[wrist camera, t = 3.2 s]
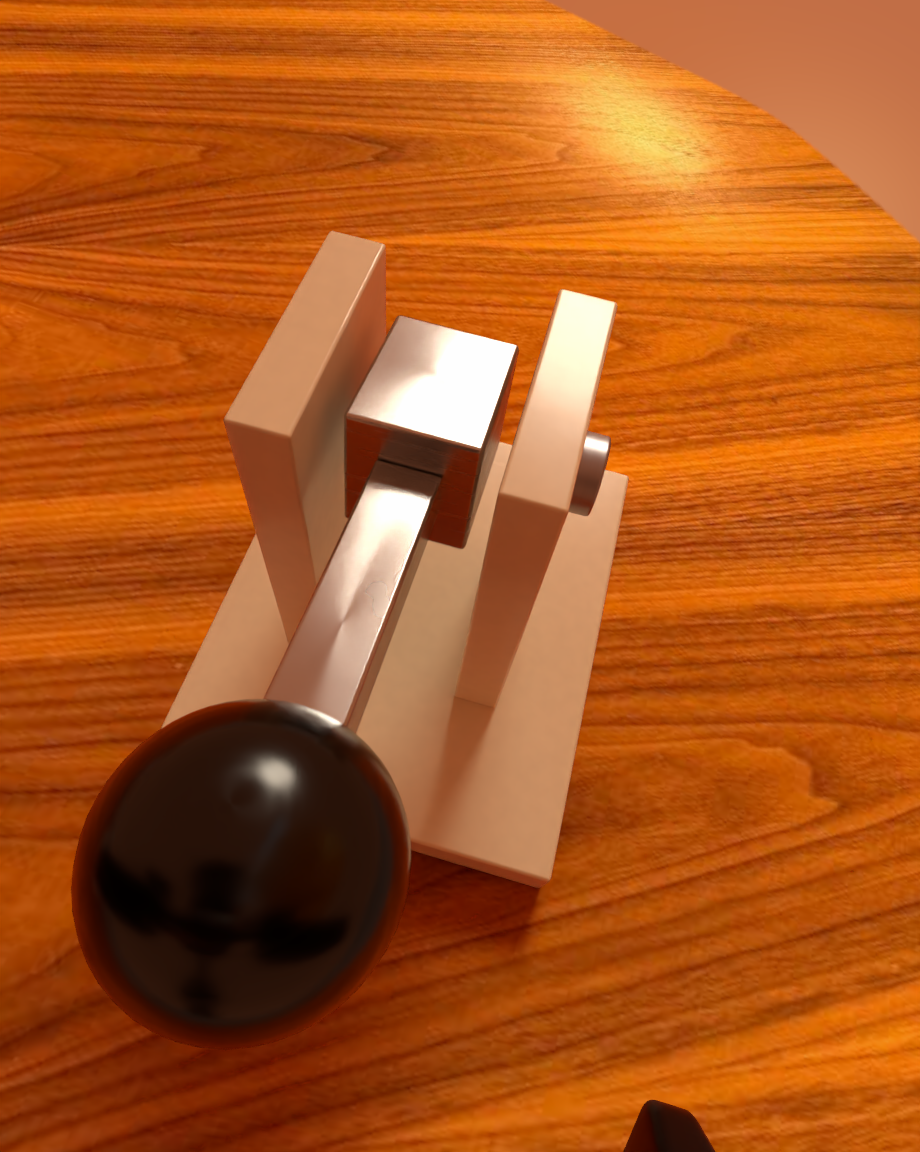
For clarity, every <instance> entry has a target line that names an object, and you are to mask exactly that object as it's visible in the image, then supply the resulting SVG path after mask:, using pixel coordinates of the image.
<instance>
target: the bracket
mask: <svg viewBox="0 0 920 1152" xmlns="http://www.w3.org/2000/svg"><path fill="white" fill-rule="evenodd" d="M616 311H617V303H615V302H612V301H608V300H604V299H600V298H596V297H593V296H589V295H585V294H581V293H577V292H573V291H569V290H565V289H561V290H560V291H559V293H558V296H557V299H556V302H555V306H554V309H553V312H552V316H551V319H550V322H549V326H548V329H547V332H546V336H545V339H544V342H543V346H542V349H541V352H540V356H539V359H538V362H537V366H536V369H535V372H534V375H533V379H532V382H531V385H530V389H529V392H528V395H527V399H526V402H525V405H524V409H523V412H522V415H521V419H520V422H519V425H518V429H517V432H516V435H515V439H514V442H513V445H510V444H506V443H502V442H499V446H498V449H497V452H496V455H495V458H494V461H493V464H492V467H491V470H490V473H489V476H488V479H487V482H486V486H485V489H484V492H483V495H482V498H481V501H480V504H479V507H478V510H477V513H476V516H475V519H474V522H473V525H472V528H471V531H470V534H469V537H468V540H467V543H466V546H465V547H464V548H463V549H457V548H454V547H450V546H446V545H443V544H439V543H435V542H432V541H428V542H427V545H426V547H425V550H424V553H423V555H422V558H421V561H420V564H419V566H418V569H417V572H416V574H415V577H414V580H413V582H412V585H411V588H410V590H409V593H408V596H407V598H406V601H405V604H404V606H403V609H402V612H401V615H400V617H399V620H398V623H397V625H396V628H395V631H394V633H393V636H392V639H391V641H390V644H389V647H388V649H387V652H386V655H385V658H384V660H383V663H382V666H381V668H380V671H379V674H378V676H377V679H376V682H375V684H374V687H373V690H372V692H371V695H370V698H369V700H368V703H367V706H366V709H365V711H364V714H363V717H362V719H361V722H360V725H359V727H358V730H357V733H356V734H357V735H358V736H359V737H360V738H361V739H362V740H363V741H364V742H366V743H367V744H368V745H369V746H370V748H371V749H372V750H373V751H374V752H375V753H376V755H377V756H378V757H379V758H380V759H381V761H382V762H383V764H384V766H385V767H386V769H387V770H388V772H389V773H390V775H391V777H392V779H393V781H394V784H395V786H396V788H397V790H398V792H399V795H400V797H401V799H402V803H403V806H404V809H405V812H406V816H407V820H408V826H409V832H410V841H411V850H412V851H416V852H419V853H422V854H426V855H429V856H432V857H436V858H439V859H442V860H446V861H449V862H452V863H456V864H459V865H462V866H466V867H469V868H472V869H476V870H479V871H482V872H486V873H489V874H492V875H496V876H499V877H502V878H506V879H509V880H512V881H516V882H519V883H522V884H526V885H529V886H532V887H536V888H541V887H542V886H544V885H545V884H547V883H548V882H549V881H550V880H551V876H552V871H553V866H554V861H555V856H556V850H557V845H558V840H559V835H560V830H561V825H562V820H563V814H564V809H565V804H566V799H567V794H568V789H569V784H570V778H571V773H572V768H573V763H574V758H575V753H576V748H577V742H578V737H579V732H580V727H581V722H582V717H583V712H584V706H585V701H586V696H587V691H588V686H589V681H590V676H591V670H592V665H593V660H594V655H595V650H596V645H597V640H598V634H599V629H600V624H601V619H602V614H603V609H604V604H605V598H606V593H607V588H608V583H609V578H610V573H611V568H612V562H613V557H614V552H615V547H616V542H617V537H618V532H619V526H620V521H621V516H622V511H623V506H624V501H625V496H626V490H627V485H628V480H629V478H628V476H627V475H623V474H619V473H615V472H612V471H608V470H605V468H606V464H607V461H608V456H609V452H610V446H611V438H610V437H609V436H605V435H601V434H597V433H593V432H590V431H588V428H589V424H590V420H591V415H592V411H593V407H594V403H595V399H596V395H597V390H598V386H599V382H600V378H601V374H602V369H603V365H604V361H605V357H606V353H607V348H608V344H609V340H610V336H611V332H612V328H613V323H614V319H615V315H616ZM385 338H386V253H385V245H384V244H382V243H378V242H374V241H370V240H366V239H362V238H358V237H354V236H350V235H346V234H343V233H339V232H335V231H330V232H329V234H328V236H327V237H326V239H325V241H324V243H323V245H322V246H321V248H320V250H319V252H318V253H317V255H316V257H315V259H314V260H313V262H312V264H311V266H310V268H309V269H308V271H307V273H306V275H305V276H304V278H303V280H302V282H301V283H300V285H299V287H298V289H297V291H296V292H295V294H294V296H293V298H292V299H291V301H290V303H289V305H288V306H287V308H286V310H285V312H284V314H283V315H282V317H281V319H280V321H279V322H278V324H277V326H276V328H275V329H274V331H273V333H272V335H271V337H270V338H269V340H268V342H267V344H266V345H265V347H264V349H263V351H262V352H261V354H260V356H259V358H258V360H257V361H256V363H255V365H254V367H253V368H252V370H251V372H250V374H249V375H248V377H247V379H246V381H245V382H244V384H243V386H242V388H241V390H240V391H239V393H238V395H237V397H236V398H235V400H234V402H233V404H232V405H231V407H230V409H229V411H228V413H227V414H226V416H225V418H224V424H225V428H226V431H227V435H228V438H229V441H230V445H231V448H232V452H233V455H234V459H235V462H236V466H237V469H238V472H239V476H240V479H241V483H242V486H243V490H244V493H245V496H246V500H247V503H248V507H249V510H250V514H251V517H252V520H253V524H254V527H255V531H256V534H255V536H254V538H253V540H252V542H251V545H250V547H249V549H248V551H247V553H246V555H245V557H244V559H243V561H242V563H241V565H240V567H239V569H238V571H237V573H236V575H235V577H234V579H233V581H232V584H231V586H230V588H229V590H228V592H227V594H226V596H225V598H224V600H223V602H222V604H221V606H220V608H219V610H218V612H217V614H216V616H215V618H214V620H213V622H212V625H211V627H210V629H209V631H208V633H207V635H206V637H205V639H204V641H203V643H202V645H201V647H200V649H199V651H198V653H197V655H196V657H195V659H194V661H193V664H192V666H191V668H190V670H189V672H188V674H187V676H186V678H185V680H184V682H183V684H182V686H181V688H180V690H179V692H178V694H177V696H176V698H175V700H174V703H173V705H172V707H171V709H170V711H169V713H168V715H167V717H166V719H165V721H164V723H163V725H162V727H161V728H163V727H165V726H166V725H168V724H169V723H171V722H173V721H175V720H177V719H179V718H181V717H183V716H185V715H187V714H189V713H191V712H194V711H197V710H199V709H202V708H205V707H208V706H211V705H215V704H219V703H224V702H228V701H236V700H243V699H263V698H264V696H265V694H266V692H267V690H268V687H269V685H270V683H271V681H272V679H273V677H274V675H275V673H276V670H277V668H278V666H279V664H280V662H281V660H282V658H283V656H284V654H285V651H286V649H287V647H288V645H289V643H290V641H291V639H292V637H293V634H294V632H295V630H296V628H297V626H298V624H299V622H300V620H301V618H302V615H303V613H304V611H305V609H306V607H307V605H308V603H309V601H310V598H311V596H312V594H313V592H314V590H315V588H316V586H317V584H318V582H319V579H320V577H321V575H322V573H323V571H324V569H325V567H326V565H327V562H328V560H329V558H330V556H331V554H332V552H333V550H334V548H335V546H336V543H337V541H338V539H339V537H340V535H341V533H342V531H343V529H344V526H345V524H346V522H347V520H348V518H346V517H345V488H344V414H345V412H346V410H347V408H348V406H349V405H350V403H351V401H352V399H353V397H354V395H355V393H356V392H357V390H358V388H359V386H360V384H361V382H362V380H363V379H364V377H365V375H366V373H367V371H368V369H369V368H370V366H371V364H372V362H373V360H374V358H375V356H376V355H377V353H378V351H379V349H380V347H381V345H382V344H383V342H384V340H385Z"/></svg>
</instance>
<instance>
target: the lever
mask: <svg viewBox="0 0 920 1152" xmlns="http://www.w3.org/2000/svg"><path fill="white" fill-rule="evenodd" d="M518 353H519V349H518V346H517V345H515V344H511V343H507V342H503V341H499V340H495V339H491V338H487V337H483V336H480V335H476V334H472V333H468V332H464V331H460V330H456V329H452V328H448V327H444V326H441V325H437V324H433V323H429V322H425V321H421V320H417V319H413V318H409V317H406V316H402V315H400V316H397V318H396V319H395V321H394V323H393V325H392V327H391V329H390V331H389V332H388V334H387V336H386V338H385V340H384V342H383V344H382V345H381V347H380V349H379V351H378V353H377V355H376V356H375V358H374V360H373V362H372V364H371V366H370V368H369V369H368V371H367V373H366V375H365V377H364V379H363V380H362V382H361V384H360V386H359V388H358V390H357V392H356V393H355V395H354V397H353V399H352V401H351V403H350V405H349V406H348V408H347V410H346V412H345V414H344V488H345V517H346V518H348V520H347V522H346V524H345V526H344V529H343V531H342V533H341V535H340V537H339V539H338V541H337V543H336V546H335V548H334V550H333V552H332V554H331V556H330V558H329V560H328V562H327V565H326V567H325V569H324V571H323V573H322V575H321V577H320V579H319V582H318V584H317V586H316V588H315V590H314V592H313V594H312V596H311V598H310V601H309V603H308V605H307V607H306V609H305V611H304V613H303V615H302V618H301V620H300V622H299V624H298V626H297V628H296V630H295V632H294V634H293V637H292V639H291V641H290V643H289V645H288V647H287V649H286V651H285V654H284V656H283V658H282V660H281V662H280V664H279V666H278V668H277V670H276V673H275V675H274V677H273V679H272V681H271V683H270V685H269V687H268V690H267V692H266V694H265V696H264V698H263V699H243V700H236V701H228V702H224V703H219V704H215V705H211V706H208V707H205V708H202V709H199V710H197V711H194V712H191V713H189V714H187V715H185V716H183V717H181V718H179V719H177V720H175V721H173V722H171V723H169V724H168V725H166V726H165V727H163V728H161V729H160V730H158V731H157V732H155V733H154V734H153V735H151V736H150V737H149V738H148V739H146V740H145V741H144V742H143V743H141V744H140V745H139V746H138V747H137V748H136V749H135V750H134V751H133V752H132V753H131V754H130V755H129V756H128V757H127V758H126V759H125V760H124V761H123V762H122V763H121V764H120V766H119V767H118V768H117V769H116V770H115V772H114V773H113V774H112V775H111V776H110V778H109V779H108V781H107V782H106V784H105V785H104V787H103V788H102V790H101V791H100V793H99V794H98V796H97V798H96V800H95V802H94V804H93V806H92V808H91V810H90V812H89V814H88V816H87V818H86V821H85V824H84V826H83V829H82V832H81V835H80V838H79V842H78V847H77V851H76V856H75V860H74V865H73V874H72V886H71V894H72V912H73V917H74V922H75V927H76V932H77V936H78V940H79V943H80V946H81V949H82V951H83V954H84V957H85V960H86V962H87V964H88V966H89V968H90V970H91V971H92V973H93V975H94V977H95V979H96V980H97V982H98V984H99V985H100V986H101V987H102V988H103V990H104V991H105V992H106V993H107V995H108V996H109V997H110V998H111V1000H112V1001H113V1002H114V1003H115V1004H116V1005H117V1006H118V1007H119V1008H120V1009H121V1010H123V1011H124V1012H125V1013H126V1014H127V1015H128V1016H129V1017H130V1018H132V1019H133V1020H134V1021H135V1022H137V1023H139V1024H140V1025H142V1026H143V1027H145V1028H147V1029H148V1030H150V1031H151V1032H153V1033H155V1034H157V1035H160V1036H162V1037H165V1038H167V1039H170V1040H172V1041H174V1042H178V1043H182V1044H187V1045H191V1046H195V1047H200V1048H213V1049H239V1048H251V1047H255V1046H260V1045H264V1044H269V1043H273V1042H276V1041H279V1040H281V1039H284V1038H287V1037H289V1036H292V1035H295V1034H297V1033H299V1032H301V1031H303V1030H305V1029H306V1028H308V1027H310V1026H312V1025H314V1024H316V1023H318V1022H319V1021H321V1020H322V1019H323V1018H325V1017H326V1016H328V1015H329V1014H330V1013H332V1012H333V1011H335V1010H336V1009H337V1008H339V1007H340V1006H341V1005H342V1004H343V1003H344V1002H345V1001H346V1000H347V999H348V998H349V997H350V996H352V995H353V994H354V993H355V992H356V991H357V990H358V988H359V987H360V986H361V985H362V984H363V983H364V981H365V980H366V979H367V978H368V977H369V975H370V974H371V973H372V972H373V970H374V969H375V967H376V965H377V964H378V962H379V961H380V959H381V958H382V956H383V955H384V953H385V952H386V950H387V948H388V946H389V944H390V942H391V940H392V938H393V936H394V934H395V932H396V930H397V927H398V924H399V921H400V919H401V916H402V913H403V910H404V907H405V903H406V898H407V893H408V889H409V882H410V871H411V841H410V832H409V826H408V820H407V816H406V812H405V809H404V806H403V803H402V799H401V797H400V795H399V792H398V790H397V788H396V786H395V784H394V781H393V779H392V777H391V775H390V773H389V772H388V770H387V769H386V767H385V766H384V764H383V762H382V761H381V759H380V758H379V757H378V756H377V755H376V753H375V752H374V751H373V750H372V749H371V748H370V746H369V745H368V744H367V743H366V742H364V741H363V740H362V739H361V738H360V737H359V736H358V735H357V734H356V733H357V730H358V727H359V725H360V722H361V719H362V717H363V714H364V711H365V709H366V706H367V703H368V700H369V698H370V695H371V692H372V690H373V687H374V684H375V682H376V679H377V676H378V674H379V671H380V668H381V666H382V663H383V660H384V658H385V655H386V652H387V649H388V647H389V644H390V641H391V639H392V636H393V633H394V631H395V628H396V625H397V623H398V620H399V617H400V615H401V612H402V609H403V606H404V604H405V601H406V598H407V596H408V593H409V590H410V588H411V585H412V582H413V580H414V577H415V574H416V572H417V569H418V566H419V564H420V561H421V558H422V555H423V553H424V550H425V547H426V545H427V542H428V541H432V542H435V543H439V544H443V545H446V546H450V547H454V548H457V549H463V548H464V547H465V546H466V543H467V540H468V537H469V534H470V531H471V528H472V525H473V522H474V519H475V516H476V513H477V510H478V507H479V504H480V501H481V498H482V495H483V492H484V489H485V486H486V482H487V479H488V476H489V473H490V470H491V467H492V464H493V461H494V458H495V455H496V452H497V449H498V446H499V441H500V436H501V432H502V427H503V422H504V418H505V413H506V408H507V404H508V399H509V394H510V390H511V385H512V380H513V376H514V371H515V367H516V362H517V357H518Z"/></svg>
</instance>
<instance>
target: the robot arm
mask: <svg viewBox="0 0 920 1152" xmlns="http://www.w3.org/2000/svg"><path fill="white" fill-rule="evenodd" d="M624 1152H715V1150H714V1148H713V1147H712V1145H711V1143H710V1142H709V1140H708V1138H707V1136H706V1135H705V1133H704V1131H703V1130H702V1128H701V1126H700V1124H699V1123H698V1121H697V1120H696V1118H695V1117H694V1116H693V1115H692V1114H691V1113H690V1112H689V1111H687V1110H685V1109H682V1108H679V1107H676V1106H673V1105H669V1104H666V1103H663V1102H660V1101H657V1100H649V1101H647V1102H646V1103H645V1104H644V1106H643V1107H642V1109H641V1111H640V1113H639V1116H638V1118H637V1121H636V1123H635V1125H634V1128H633V1130H632V1133H631V1135H630V1137H629V1140H628V1142H627V1144H626V1147H625V1149H624Z"/></svg>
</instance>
